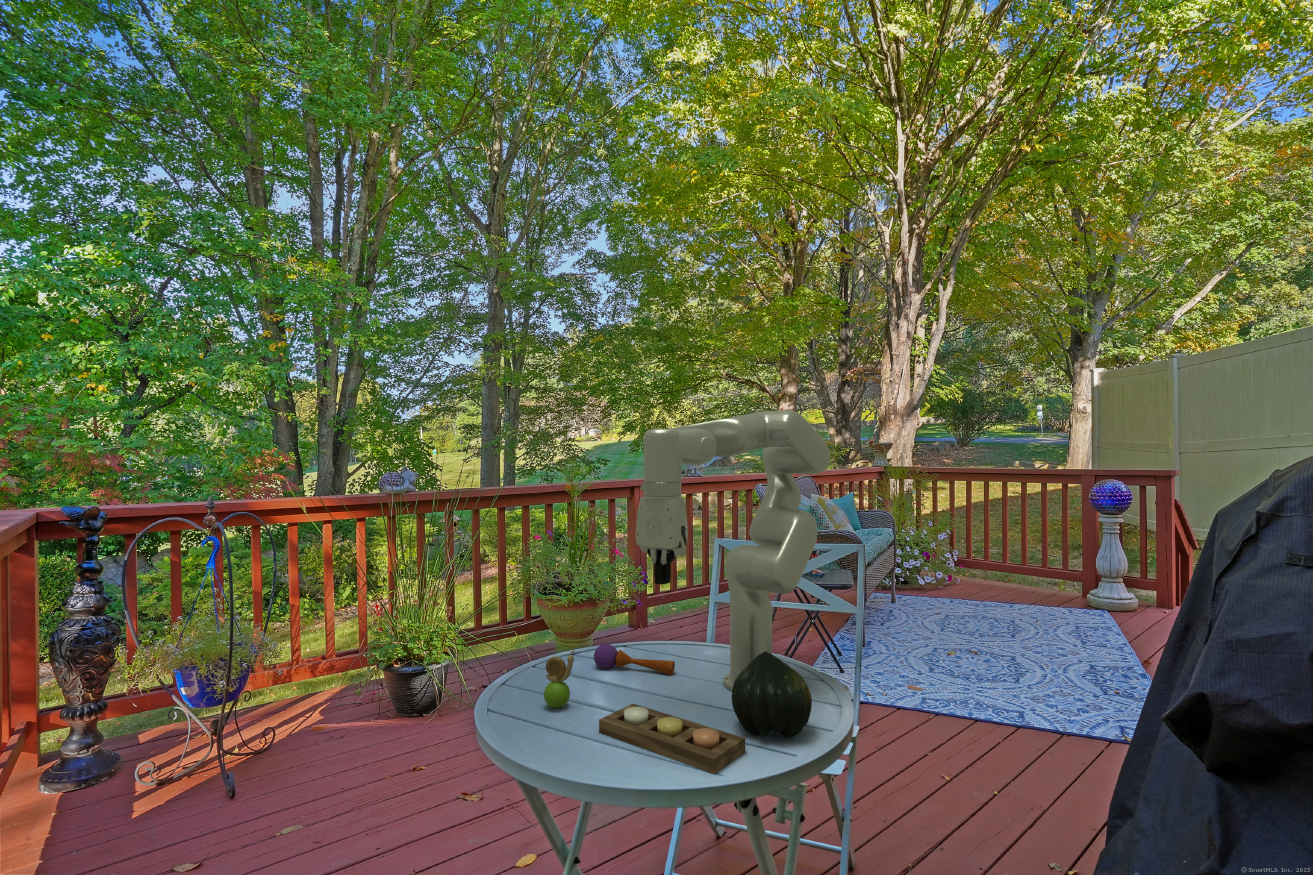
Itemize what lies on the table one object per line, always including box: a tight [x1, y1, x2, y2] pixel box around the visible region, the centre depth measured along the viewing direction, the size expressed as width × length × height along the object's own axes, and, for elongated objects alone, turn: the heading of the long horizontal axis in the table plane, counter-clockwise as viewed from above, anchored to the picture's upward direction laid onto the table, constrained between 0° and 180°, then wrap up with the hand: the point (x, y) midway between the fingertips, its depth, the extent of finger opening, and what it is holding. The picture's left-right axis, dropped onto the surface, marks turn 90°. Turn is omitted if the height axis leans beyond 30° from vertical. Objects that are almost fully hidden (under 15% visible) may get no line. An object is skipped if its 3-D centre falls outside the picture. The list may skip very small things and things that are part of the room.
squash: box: [731, 651, 813, 739], centre depth 127 cm, size 14×15×15 cm
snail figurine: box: [543, 649, 575, 709], centre depth 138 cm, size 5×6×12 cm
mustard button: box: [657, 716, 682, 737], centre depth 121 cm, size 5×5×2 cm
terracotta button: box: [693, 728, 719, 750], centre depth 116 cm, size 5×5×2 cm
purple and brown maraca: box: [593, 643, 676, 676], centre depth 161 cm, size 6×6×20 cm
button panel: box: [598, 703, 746, 775], centre depth 121 cm, size 10×26×2 cm, turn 52°
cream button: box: [624, 706, 648, 726], centre depth 126 cm, size 5×5×2 cm
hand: (662, 582), depth 131 cm, fingers closed
